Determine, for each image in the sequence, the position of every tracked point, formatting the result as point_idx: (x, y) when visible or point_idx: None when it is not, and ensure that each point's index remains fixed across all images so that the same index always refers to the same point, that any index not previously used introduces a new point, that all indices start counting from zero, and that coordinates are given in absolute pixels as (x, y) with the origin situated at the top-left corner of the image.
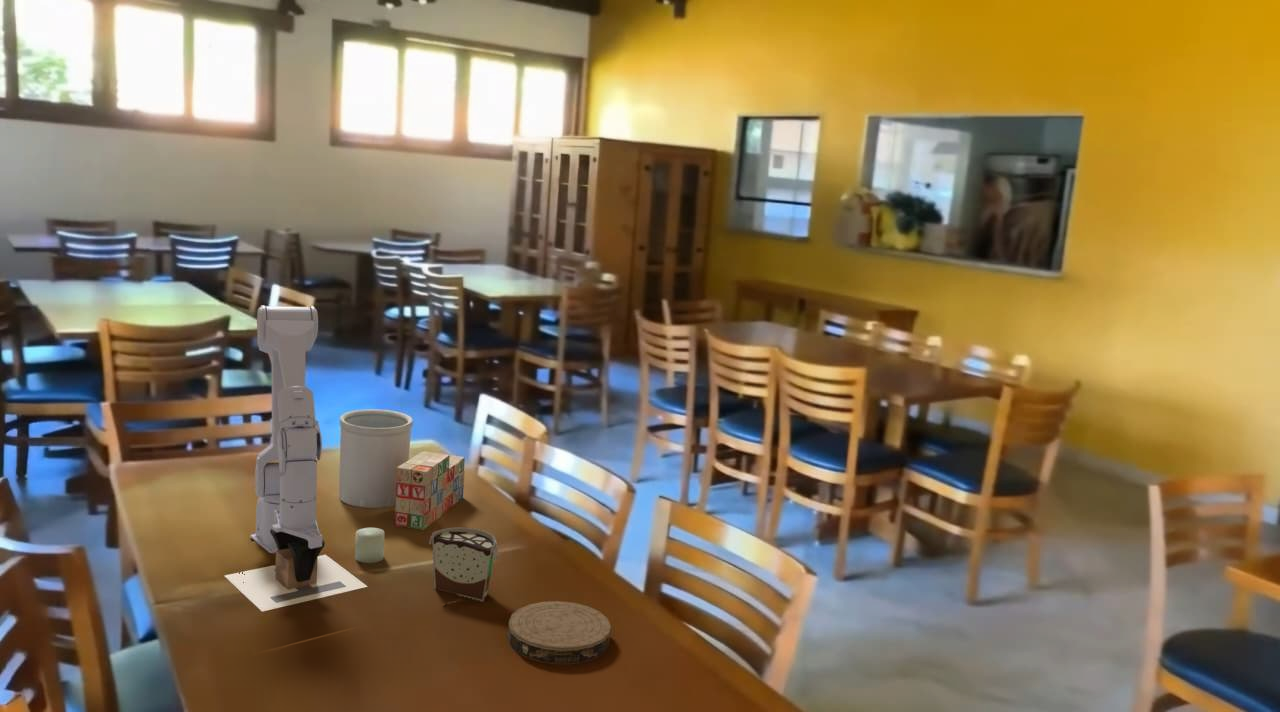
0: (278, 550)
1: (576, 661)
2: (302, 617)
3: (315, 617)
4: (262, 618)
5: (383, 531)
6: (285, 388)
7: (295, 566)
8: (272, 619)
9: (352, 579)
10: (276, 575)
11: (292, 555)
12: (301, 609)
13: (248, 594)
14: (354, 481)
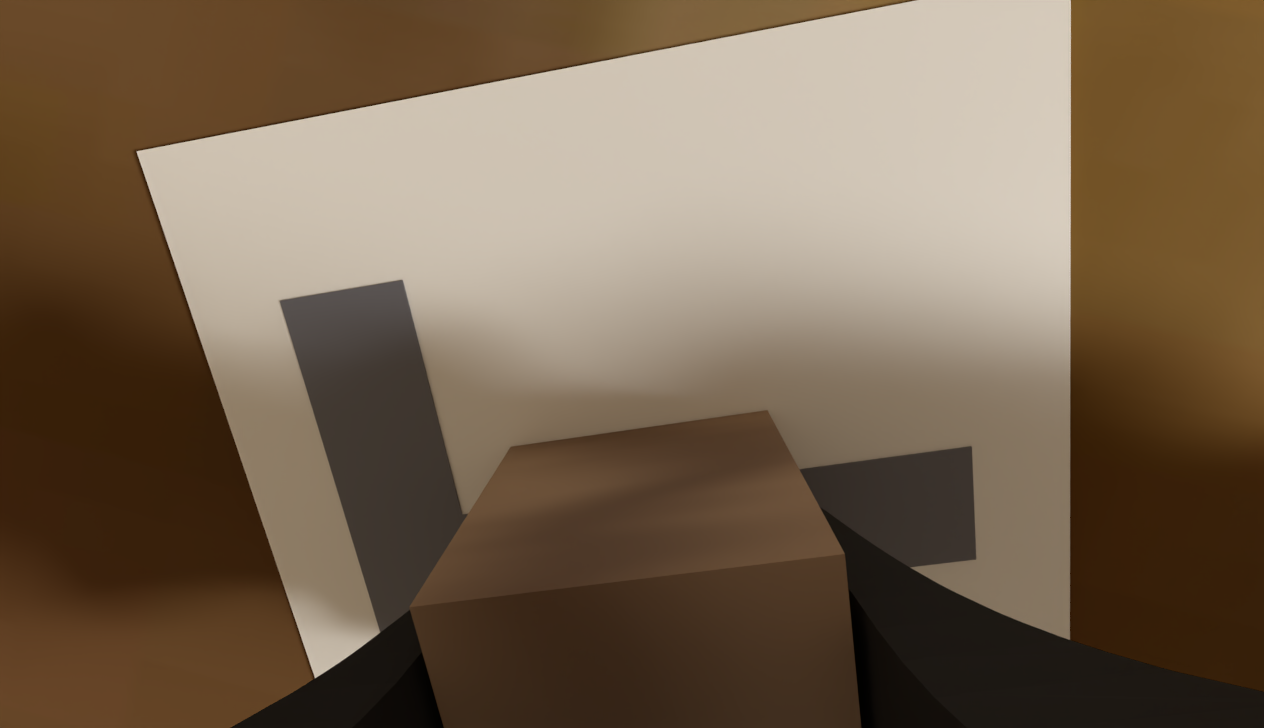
0: (838, 586)
1: None
2: (16, 419)
3: (3, 499)
4: (43, 132)
5: None
6: None
7: (409, 629)
8: (13, 205)
9: None
10: (750, 426)
11: (356, 711)
12: (154, 448)
13: (519, 114)
14: None
